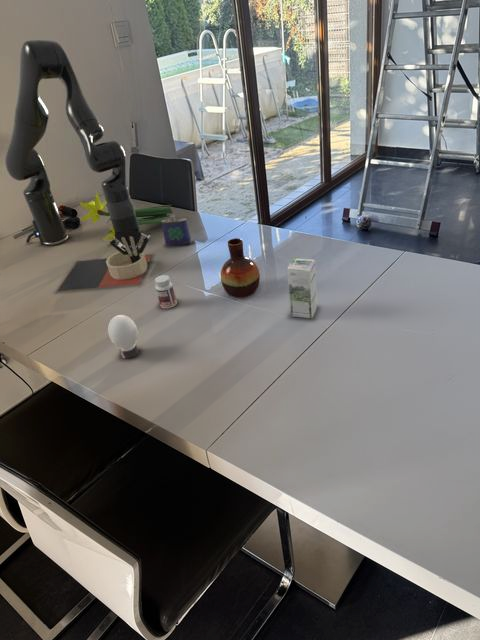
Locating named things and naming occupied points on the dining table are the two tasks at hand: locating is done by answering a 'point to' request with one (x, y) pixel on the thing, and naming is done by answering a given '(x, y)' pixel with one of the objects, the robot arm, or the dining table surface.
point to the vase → (239, 272)
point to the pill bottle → (165, 292)
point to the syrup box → (302, 288)
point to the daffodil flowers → (156, 212)
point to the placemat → (94, 276)
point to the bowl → (125, 266)
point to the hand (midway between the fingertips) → (137, 265)
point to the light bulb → (124, 335)
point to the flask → (176, 232)
